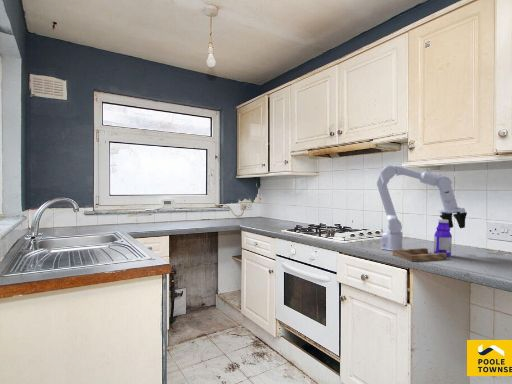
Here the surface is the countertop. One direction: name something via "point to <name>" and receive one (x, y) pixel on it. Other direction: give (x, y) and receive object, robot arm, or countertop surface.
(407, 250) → the cradle
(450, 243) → the bottle
